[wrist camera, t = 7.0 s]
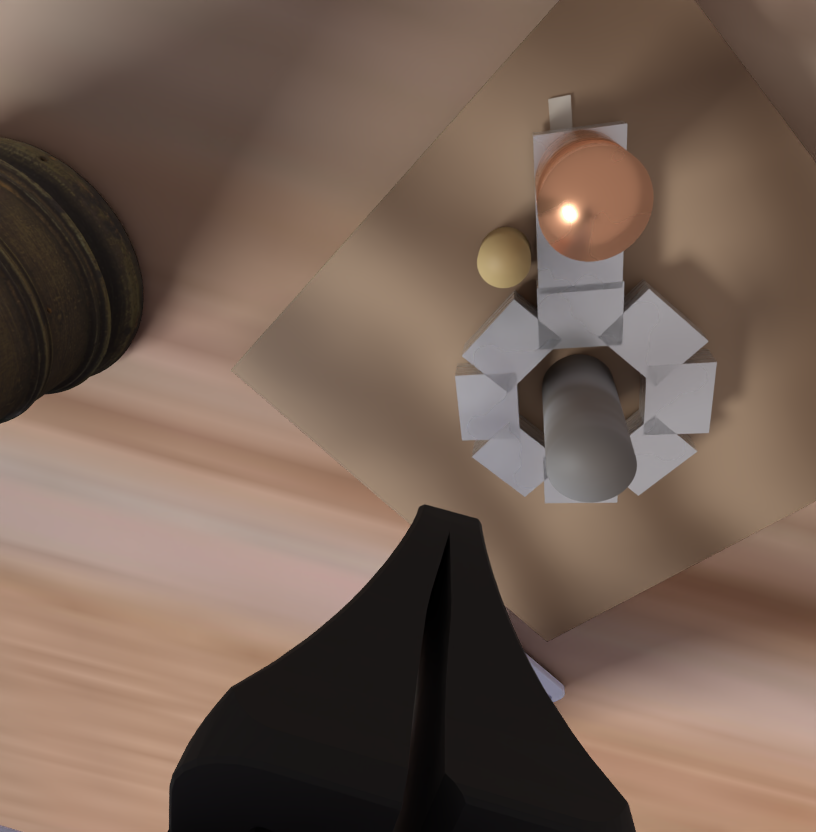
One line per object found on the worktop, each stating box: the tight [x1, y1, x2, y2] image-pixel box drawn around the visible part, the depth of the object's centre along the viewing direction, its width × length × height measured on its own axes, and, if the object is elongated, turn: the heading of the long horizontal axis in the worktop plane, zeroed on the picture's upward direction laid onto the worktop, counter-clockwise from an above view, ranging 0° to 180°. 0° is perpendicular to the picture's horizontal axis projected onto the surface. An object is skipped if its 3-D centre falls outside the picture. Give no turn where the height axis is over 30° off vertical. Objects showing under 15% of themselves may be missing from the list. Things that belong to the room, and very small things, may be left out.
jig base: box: [231, 0, 816, 642], centre depth 19 cm, size 18×18×6 cm
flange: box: [455, 121, 717, 503], centre depth 18 cm, size 12×8×5 cm, turn 8°
